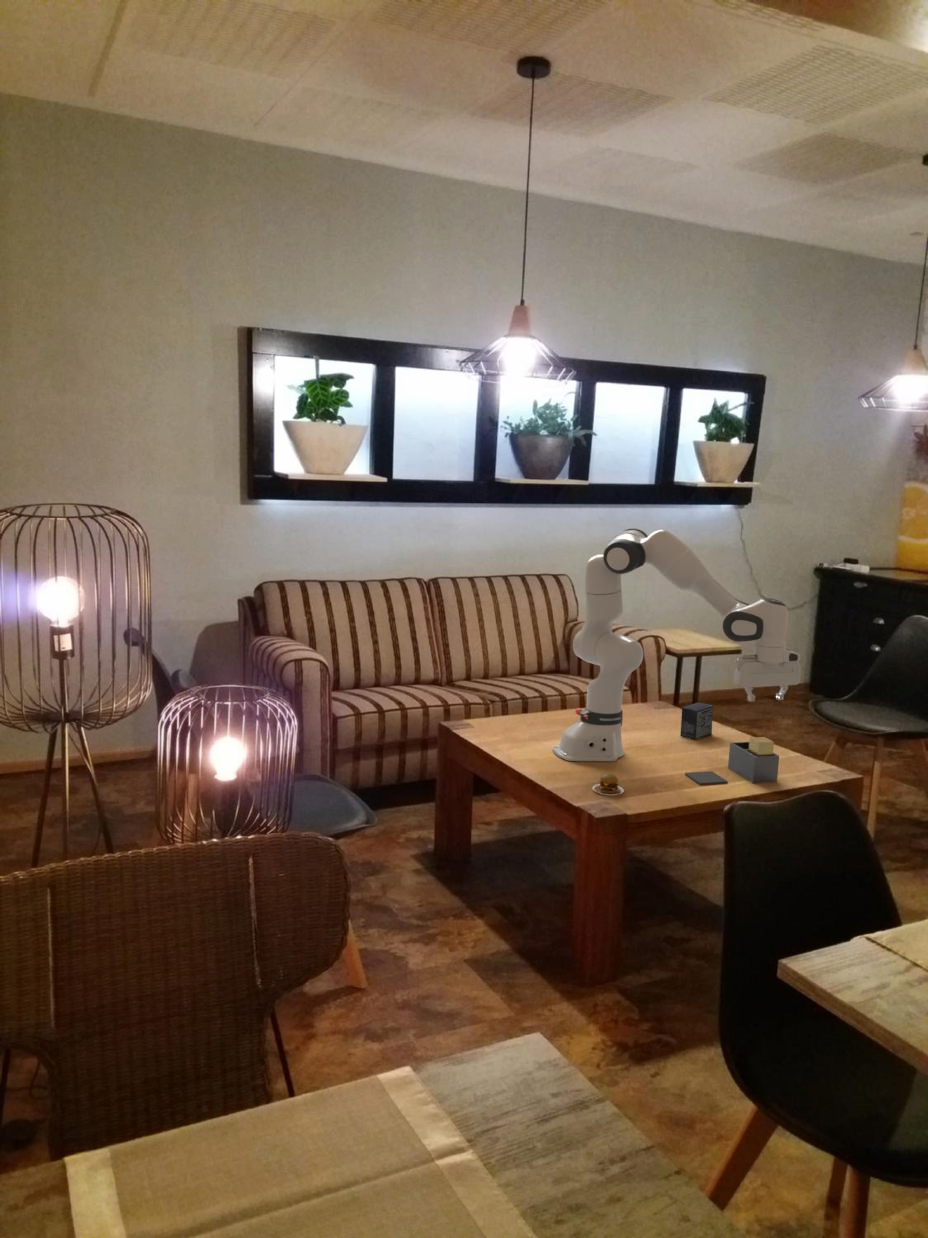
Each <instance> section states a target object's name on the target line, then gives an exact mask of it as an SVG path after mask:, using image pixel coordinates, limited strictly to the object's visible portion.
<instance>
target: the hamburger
mask: <svg viewBox="0 0 928 1238" xmlns="http://www.w3.org/2000/svg"><path fill="white" fill-rule="evenodd" d="M619 785H620V784H619V780H618V777H617V776H616V775H614V774H613V773H605V774H604V773H603V775H601V776H600V777H599V783H598V784H597V783H596V784H594V785H593V786H592V791H594V792H596V793H598V794H599V795H602V796H603V795H604V796H611V795H612V794H613V796H619V795H621V794H623V793H625V789H624V788H623V787H622V786H619ZM597 788H599V790H600V792H599V791H597V790H596V789H597ZM618 790H619V791H620V793H616V792H618ZM601 792H602V793H601ZM615 793H616V794H615Z"/></svg>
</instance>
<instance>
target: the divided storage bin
mask: <svg viewBox="0 0 928 1238" xmlns="http://www.w3.org/2000/svg"><path fill="white" fill-rule="evenodd" d="M728 750H729V752H728V765H727V769H729V770H730V771H732V772H734V773H736V774H737V775H739V776H740V777H742V778H743V779H746V780H747V781H748V782H750V781H751V782H752V783H751V782H750V783H751V784H763V782H766V783H774V782H773V781H777V782H778V776H779V775H778V774H779V773H778V772H779V763H780V755H779V754H777V753H775V752H773V756H760V757H757V756H755V755H753V754H751V753H750V752H749V741H738V742H729V749H728Z"/></svg>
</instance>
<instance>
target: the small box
mask: <svg viewBox="0 0 928 1238" xmlns="http://www.w3.org/2000/svg"><path fill="white" fill-rule="evenodd" d="M681 707H682V708H681V721H680V722H681V723H680V737H681V736H682V738H686V739H689V738H690V739H689V740H692V739H693V741H697V739H698V740H700V738H701V739H703V738H706V737H709V736H711V735H713V734H712V733H713V719H714V718H713V717H714V705H712V704H707V703H702V702H696V703H692V704H689V705H686V706H681ZM708 735H709V736H708ZM705 736H706V737H705Z"/></svg>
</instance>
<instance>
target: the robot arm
mask: <svg viewBox="0 0 928 1238" xmlns="http://www.w3.org/2000/svg"><path fill="white" fill-rule="evenodd" d="M645 564H647V565H648V564H649V565H651V566H652V567H653V568H655V570H657V571H658V572H659V574H660V575H662V576H663V577H664V578H665V580H667V581H668V582H669V583H670V584H672V585H674V586H675V588H678V589H680V590H684V591H688V592H692V593H696V594H697V595H699V596H700V597H701V598H703V600H705V601H706V602H707V603H708V604H709V605H710V606H711V607H712V608H714V610H715V611H716V612H718V614H720V617H721V619H722V620H723V621H722V631H723V633H724V635H725V636H726V637H727V639H729V640H731V641H733V642H738V643H743V642H751V641H752V642H754V643H753V654H748V655H747V654H743V655H741V656H739V657H738V658H737V660H736V665H735V666H736V667H735V669H734V677H733V683H734V684H735V686H737V687H740V688H744V691H745V692H746V695H747V699H746V700H747V701H749V702H755V701H756V695H754V694H753V692H752V691H753V690H754V688H755V687H758V688H759V687H778V686H779V688H780V689H779V691H778V692H776V693H775V699H776V700H777V701H783V700H784V699H785V698H784V697H785V694H786V693H787V691H788V690H789V686H796V685H797V686H798V684H800V682H801V679H802V666H801V662H800V661H801V658H802V656H801V654H800V653H798V652H795V651H792V650H790V649H788V648H787V642H786V641H787V640H786V636H787V633H788V628H789V627H788V626H789V611H788V607H787V606H786V604H785V603H783V602H782V601H780V600H778V599H775V598H771V597H769V598H768V597H762V598H760V599H758V600H757V601H756V602H754V603H753V602H752V604H749V603H747V602H744V601H742V600H739V599H737V598H735V597H734V596H733V595H732V594H731V593H730V592H728V590H727V589H725V588H724V587H723V586H722V585H721V584H720V583H719V582H718V581H717V580H716V579H714V577H713V576H712V575H711V573H710V572H709V570H708V569H707V567H706V566H705V565H704V563H703V562H702V560H701V559H700V558H699V556H697V554H696V553H695V552H694V551H693V550H692V549H691V548H690V547H689V546H687V545H686V543H684V542H683V541H682V540H681V539H680V538H678V537H677V536H676V535H675V534H672V533H671V532H669V531H668V530H666V529H664V528H663V529H661V528H660V529H658V530H657V529H656V530H654V531H653V532H651V533H650V534H649V535H648V534H647V533H646V532H644V531H643V530H642V529H639V528H628V529H624V530H623V531H622V532H619V533H618V534H617V535H615V536H614V537H613V538H612V540H611V541H610V542H608V543H607V544H606V546H605V548H604V551H603V553H599V554H595V555H592V556H591V557H590V558H589V559H588V561H587V562H586V568H585V577H584V578H585V580H584V588H585V608H586V611H585V613H586V614H585V621H584V624H583V626H582V628H581V629H580V630H579V631H578V632H577V633H576V634H575V636H574V638H573V641H572V650H573V653H574V655H575V656H576V657H578V658H580V659H581V660H583V661H585V662H586V663H590V664H593V665H595V666H599V667H600V669H599V674H598V676H597V677H596V678H594V679H592V680H591V681H590V682H589V683H588V685H587V690H586V691H587V692H586V706H585V707H584V709H581V708H579V707H577V708H576V709H575V711H574V712H575V715H577V716H580V718H579V720H577V721H576V722H575V723H573V724H572V725H570V726H569V727H568V728H567V729H565V730H564V731H563V732H562V733H561V736H560V737H561V738H560V743H559V744H554V745H553V748H552V751H553V753H554V754H555V755H557V757H559V758H560V759H563V760H565V761H569V762H616V761H617V760H618V758H619V759H620V758H621V757H623V756H624V755H625V752H624V748H623V741H622V726H623V716H624V715H623V714H624V712H623V709H622V706H623V696H624V695H623V694H624V687H625V684H626V681H628V678H629V676H630V675H631V674H632V672H634V671H635V670H637V669H638V668H639V667H640V665H641V664H642V662H643V660H644V648H643V646H642V644H641V643H640V642H639V641H637V640H636V639H633V638H631V637H629V636H627V635H622V634H618V633H614V632H613V624H614V622H615V621H617V620H618V619H619V618H620V617H621V616H622V615H623V611H624V610H623V595H622V594H623V593H622V592H623V591H622V575H625V574H629V573H631V572H633V571H634V570H637V569H640V567H643V566H644V565H645Z"/></svg>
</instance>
